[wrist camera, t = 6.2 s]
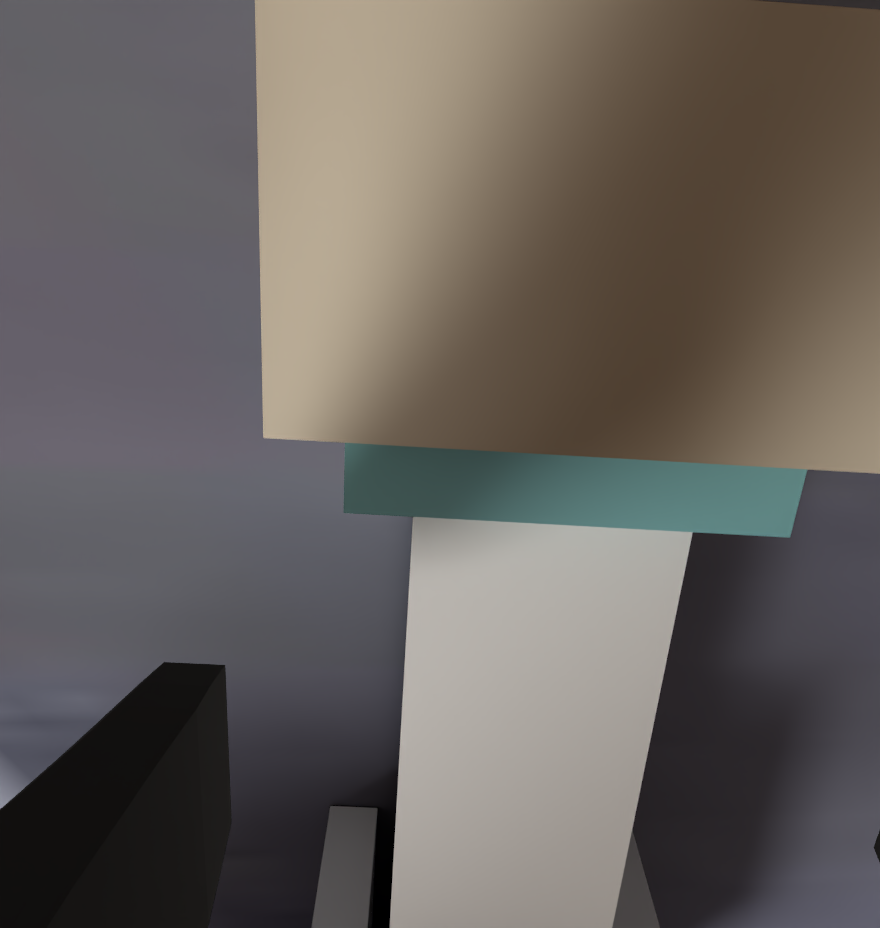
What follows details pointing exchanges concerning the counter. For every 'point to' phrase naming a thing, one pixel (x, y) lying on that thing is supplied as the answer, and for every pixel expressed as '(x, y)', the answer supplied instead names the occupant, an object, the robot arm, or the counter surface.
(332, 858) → the sleeve
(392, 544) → the counter surface
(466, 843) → the white bar teal band
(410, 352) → the tan rectangular block
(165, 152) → the counter surface
